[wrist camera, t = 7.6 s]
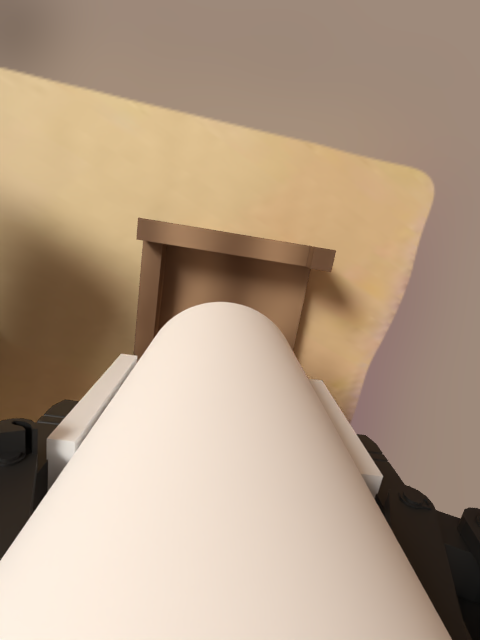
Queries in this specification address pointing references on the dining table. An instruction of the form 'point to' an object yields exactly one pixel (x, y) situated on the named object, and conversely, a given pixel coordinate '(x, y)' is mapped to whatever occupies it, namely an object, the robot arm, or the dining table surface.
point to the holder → (220, 275)
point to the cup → (212, 509)
